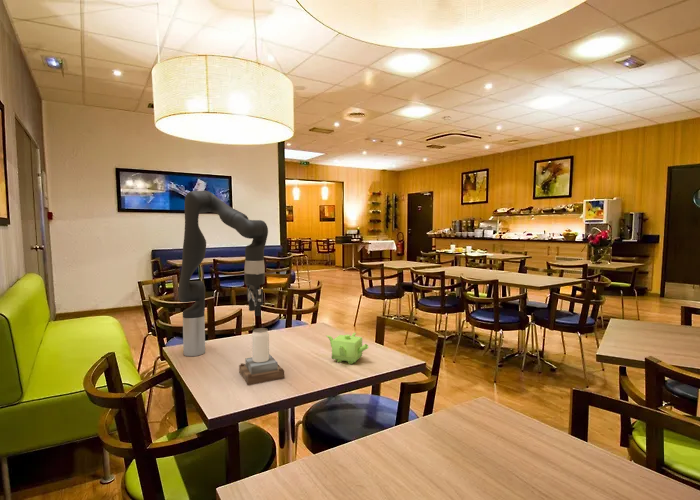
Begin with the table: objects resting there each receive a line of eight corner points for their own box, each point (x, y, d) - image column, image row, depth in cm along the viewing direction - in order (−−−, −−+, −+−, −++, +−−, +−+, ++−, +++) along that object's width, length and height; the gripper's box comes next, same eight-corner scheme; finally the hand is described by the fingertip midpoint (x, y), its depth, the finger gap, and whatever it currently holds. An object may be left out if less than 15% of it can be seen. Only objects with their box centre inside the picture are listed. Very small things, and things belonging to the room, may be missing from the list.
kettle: (325, 357, 171) (325, 332, 170) (354, 353, 177) (354, 329, 176) (338, 368, 157) (338, 341, 157) (369, 363, 163) (369, 337, 163)
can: (265, 363, 146) (264, 332, 145) (249, 362, 147) (248, 331, 146) (271, 358, 152) (271, 328, 151) (256, 356, 153) (256, 327, 153)
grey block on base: (239, 372, 153) (239, 357, 152) (273, 366, 159) (273, 352, 159) (247, 385, 140) (247, 369, 140) (284, 378, 147) (284, 363, 147)
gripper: (240, 270, 152) (240, 310, 154) (249, 274, 140) (249, 318, 141) (259, 269, 156) (259, 308, 157) (269, 273, 144) (269, 316, 145)
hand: (254, 313), depth 149 cm, fingers open, 8 cm apart
